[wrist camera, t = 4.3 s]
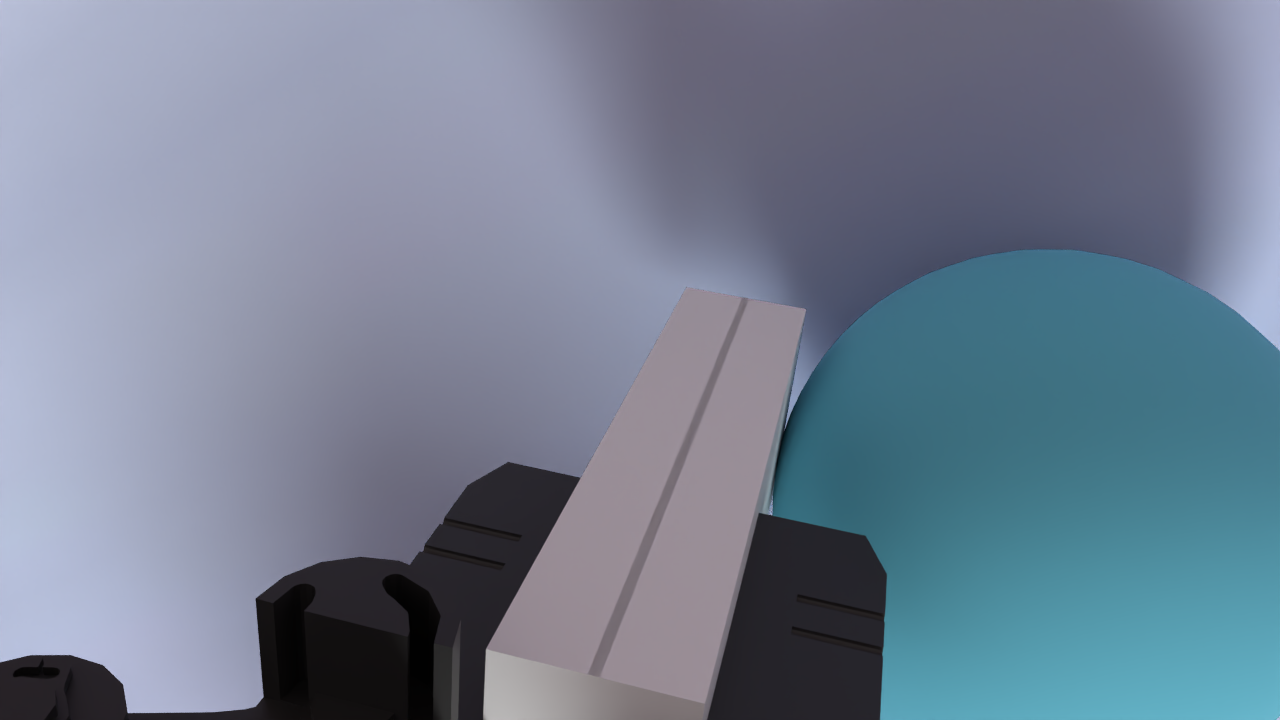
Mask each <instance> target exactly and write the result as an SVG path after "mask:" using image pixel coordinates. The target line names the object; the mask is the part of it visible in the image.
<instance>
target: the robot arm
mask: <svg viewBox="0 0 1280 720" xmlns="http://www.w3.org/2000/svg"><path fill="white" fill-rule="evenodd" d="M805 314H806V309H803V308H798V307H792V306H787V305H781V304H776V303H770V302H765V301H759V300H754V299H748V298H743V297H737V296H732V295H726V294H721V293H715V292H710V291H704V290H699V289H693V288H688V287H686V289H685V291H684V292H683V294H682V296H681V298H680V300H679V301H678V303H677V305H676V307H675V309H674V310H673V312H672V314H671V316H670V318H669V319H668V321H667V323H666V325H665V327H664V329H663V330H662V332H661V334H660V336H659V338H658V339H657V341H656V343H655V345H654V347H653V348H652V350H651V352H650V354H649V356H648V357H647V359H646V361H645V363H644V365H643V366H642V368H641V370H640V372H639V374H638V375H637V377H636V379H635V381H634V383H633V385H632V386H631V388H630V390H629V392H628V394H627V395H626V397H625V399H624V401H623V403H622V404H621V406H620V408H619V410H618V412H617V413H616V415H615V417H614V419H613V421H612V422H611V424H610V426H609V428H608V430H607V431H606V433H605V435H604V437H603V439H602V441H601V442H600V444H599V446H598V448H597V450H596V451H595V453H594V455H593V457H592V459H591V460H590V462H589V464H588V466H587V468H586V469H585V471H584V473H583V475H582V477H581V478H579V477H574V476H570V475H565V474H560V473H556V472H551V471H546V470H542V469H537V468H533V467H528V466H523V465H519V464H514V463H510V462H508V463H506V464H504V465H502V466H501V467H499V468H497V469H495V470H494V471H492V472H490V473H488V474H487V475H485V476H483V477H482V478H480V479H478V480H476V481H475V482H473V483H471V484H469V485H468V486H467V487H466V489H465V490H464V491H463V493H462V494H461V496H460V497H459V498H458V500H457V501H456V502H455V504H454V505H453V507H452V508H451V509H450V511H449V512H448V513H447V515H446V516H445V518H444V522H443V525H442V524H439V526H438V527H437V529H436V530H435V531H434V533H433V534H432V535H431V537H430V538H429V540H428V541H427V542H426V544H425V547H424V551H423V552H419V553H418V555H417V556H416V557H415V559H414V560H413V561H412V563H411V564H410V565H408V564H405V563H403V562H400V561H395V560H386V559H376V558H366V557H356V558H349V559H341V560H334V561H327V562H320V563H318V564H315V565H313V566H310V567H307V568H305V569H302V570H300V571H297V572H295V573H292V574H290V575H287V576H284V577H283V578H282V579H280V580H279V581H278V582H277V583H275V584H274V585H273V586H271V587H270V588H269V589H267V590H266V591H265V592H264V593H262V594H261V595H260V596H258V597H257V598H256V608H257V621H258V633H259V645H260V657H261V670H262V682H263V694H264V697H263V699H262V700H261V701H260V702H259V704H258V705H257V706H256V707H253V708H249V709H245V710H234V711H224V712H205V713H127V707H126V700H125V694H124V688H123V684H122V683H121V682H120V681H119V680H118V679H117V678H116V677H115V676H114V675H112V674H111V673H110V672H109V671H108V670H107V669H106V668H105V667H104V666H103V665H100V664H97V663H94V662H91V661H88V660H84V659H81V658H78V657H75V656H72V655H30V656H26V657H21V658H17V659H13V660H9V661H5V662H0V720H880V712H881V691H882V670H883V656H882V653H883V648H884V628H885V622H884V617H885V607H886V587H887V573H886V571H885V570H884V568H883V566H882V564H881V562H880V561H879V559H878V557H877V555H876V553H875V551H874V550H873V548H872V546H871V544H870V542H869V541H868V539H867V537H866V536H865V535H860V534H855V533H851V532H846V531H841V530H837V529H832V528H828V527H823V526H818V525H814V524H809V523H804V522H800V521H795V520H790V519H786V518H781V517H777V516H772V515H768V514H769V510H770V506H771V501H772V495H773V489H774V481H775V473H776V466H777V460H778V456H779V451H780V446H781V441H782V437H783V434H784V429H785V424H786V418H787V413H788V407H789V402H790V396H791V391H792V385H793V380H794V374H795V369H796V363H797V358H798V352H799V347H800V341H801V336H802V330H803V325H804V319H805Z"/></svg>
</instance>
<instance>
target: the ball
mask: <svg viewBox="0 0 1280 720" xmlns="http://www.w3.org/2000/svg"><path fill="white" fill-rule="evenodd" d="M773 516H777V517H781V518H786V519H790V520H795V521H800V522H804V523H809V524H814V525H818V526H823V527H828V528H832V529H837V530H841V531H846V532H851V533H855V534H860V535H865V536H866V537H867V539H868V541H869V542H870V544H871V546H872V548H873V550H874V551H875V553H876V555H877V557H878V559H879V561H880V562H881V564H882V566H883V568H884V570H885V571H886V573H887V587H886V607H885V617H884V622H885V628H884V648H883V653H882V656H883V670H882V691H881V712H880V720H1276V719H1277V718H1278V717H1279V716H1280V351H1279V350H1278V349H1277V348H1276V347H1275V346H1274V345H1273V344H1272V343H1271V342H1270V341H1269V340H1267V339H1266V338H1265V337H1264V336H1263V335H1262V334H1261V333H1260V332H1259V331H1257V330H1256V329H1255V328H1254V327H1253V326H1252V325H1251V324H1250V323H1249V322H1247V321H1246V320H1245V319H1244V318H1243V317H1242V316H1241V315H1240V314H1238V313H1237V312H1236V311H1234V310H1233V309H1231V308H1230V307H1228V306H1227V305H1225V304H1224V303H1222V302H1221V301H1219V300H1218V299H1216V298H1215V297H1213V296H1212V295H1210V294H1209V293H1208V292H1206V291H1203V290H1201V289H1199V288H1197V287H1195V286H1193V285H1191V284H1189V283H1187V282H1185V281H1183V280H1181V279H1178V278H1176V277H1174V276H1172V275H1170V274H1168V273H1166V272H1164V271H1162V270H1160V269H1157V268H1154V267H1150V266H1147V265H1144V264H1141V263H1138V262H1135V261H1131V260H1128V259H1124V258H1119V257H1114V256H1109V255H1104V254H1097V253H1091V252H1085V251H1079V250H1057V249H1034V250H1017V251H1010V252H1003V253H996V254H991V255H986V256H981V257H975V258H972V259H969V260H965V261H962V262H959V263H956V264H953V265H950V266H947V267H945V268H942V269H939V270H936V271H933V272H931V273H928V274H926V275H924V276H922V277H920V278H919V279H917V280H915V281H913V282H911V283H909V284H907V285H905V286H904V287H902V288H900V289H898V290H897V291H895V292H893V293H892V294H890V295H889V296H887V297H886V298H884V299H883V300H881V301H880V302H878V303H877V304H875V305H874V306H873V307H871V308H870V309H869V310H868V311H867V312H865V313H864V314H863V315H862V316H860V317H859V318H858V319H857V320H856V321H855V322H854V323H853V324H852V325H851V326H850V327H849V328H848V329H847V330H846V331H845V332H844V333H843V334H842V335H841V336H840V337H839V338H838V340H837V341H836V342H835V343H834V344H833V346H832V347H831V348H830V349H829V350H828V351H827V353H826V354H825V355H824V357H823V358H822V360H821V361H820V362H819V364H818V365H817V367H816V368H815V369H814V371H813V372H812V374H811V376H810V378H809V379H808V381H807V383H806V384H805V386H804V388H803V390H802V391H801V393H800V395H799V397H798V399H797V402H796V404H795V406H794V408H793V410H792V412H791V414H790V417H789V420H788V423H787V426H786V428H785V431H784V434H783V437H782V441H781V446H780V451H779V456H778V460H777V466H776V473H775V481H774V489H773Z"/></svg>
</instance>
